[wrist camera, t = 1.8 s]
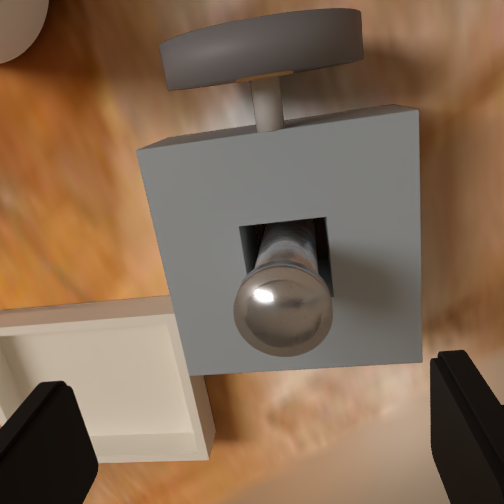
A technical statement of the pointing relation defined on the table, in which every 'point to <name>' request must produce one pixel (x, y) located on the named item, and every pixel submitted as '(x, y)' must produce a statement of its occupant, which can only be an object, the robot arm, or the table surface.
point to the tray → (112, 375)
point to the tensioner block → (287, 197)
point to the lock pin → (284, 293)
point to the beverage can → (20, 25)
